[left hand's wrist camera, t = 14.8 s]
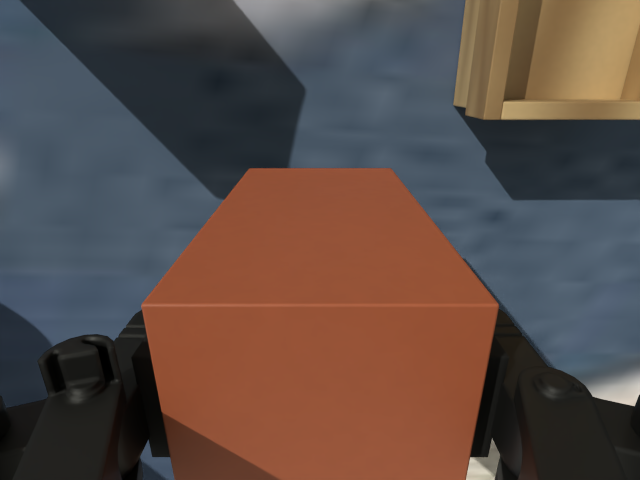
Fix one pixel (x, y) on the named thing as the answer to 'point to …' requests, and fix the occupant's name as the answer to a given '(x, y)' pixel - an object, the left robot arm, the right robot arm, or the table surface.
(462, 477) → the reddish brown block
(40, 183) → the table surface
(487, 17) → the holder
